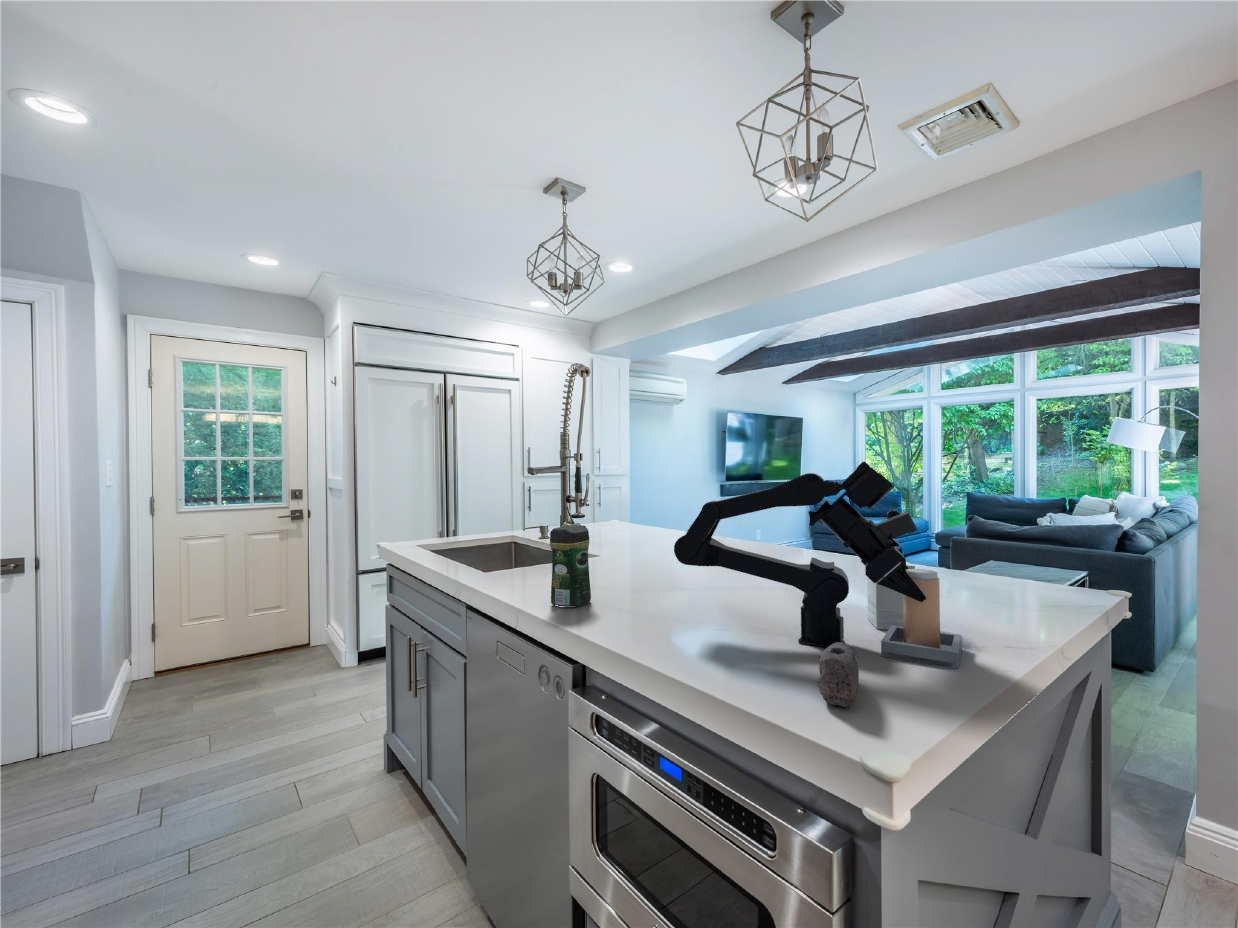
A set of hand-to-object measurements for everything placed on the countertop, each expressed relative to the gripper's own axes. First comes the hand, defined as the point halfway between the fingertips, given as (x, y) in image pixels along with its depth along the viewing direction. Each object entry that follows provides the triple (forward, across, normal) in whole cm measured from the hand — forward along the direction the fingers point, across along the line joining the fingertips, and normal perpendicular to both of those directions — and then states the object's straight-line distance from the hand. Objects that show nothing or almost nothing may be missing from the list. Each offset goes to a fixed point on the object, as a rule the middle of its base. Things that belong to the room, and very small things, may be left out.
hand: (921, 594), depth 95 cm
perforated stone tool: (-1, -23, +16) cm, 28 cm away
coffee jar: (-44, +8, +59) cm, 74 cm away
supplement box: (+4, +16, +10) cm, 19 cm away
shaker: (+6, 0, +7) cm, 9 cm away
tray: (+7, 0, +7) cm, 10 cm away
